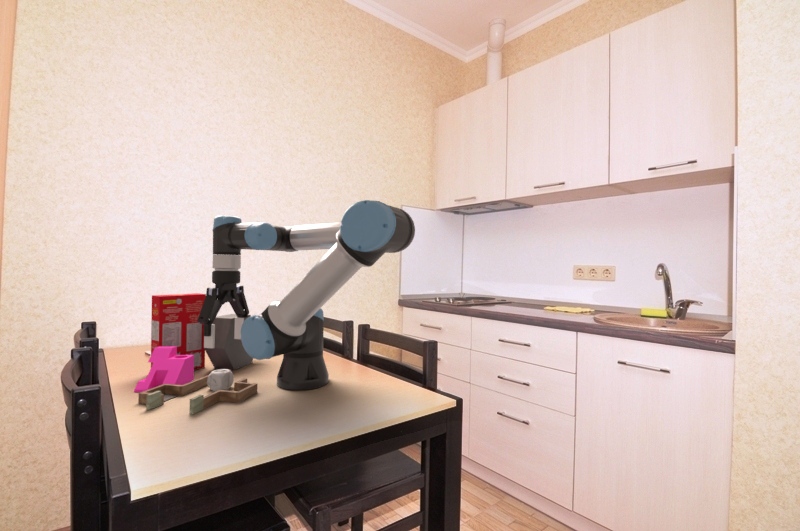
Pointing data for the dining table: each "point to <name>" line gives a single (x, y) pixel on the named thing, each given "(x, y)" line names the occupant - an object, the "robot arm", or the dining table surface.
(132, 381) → the dining table surface
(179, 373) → the bracket
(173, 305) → the food packaging
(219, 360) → the planter
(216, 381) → the die
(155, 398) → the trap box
